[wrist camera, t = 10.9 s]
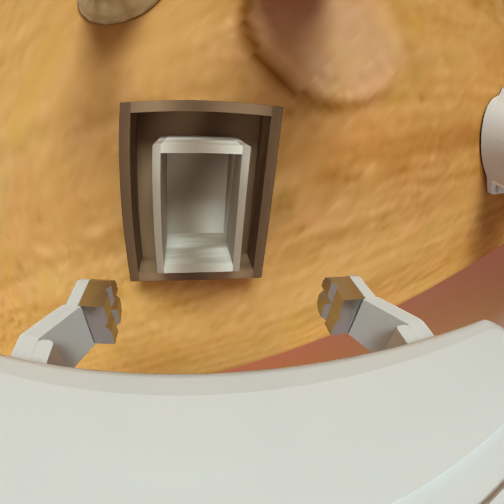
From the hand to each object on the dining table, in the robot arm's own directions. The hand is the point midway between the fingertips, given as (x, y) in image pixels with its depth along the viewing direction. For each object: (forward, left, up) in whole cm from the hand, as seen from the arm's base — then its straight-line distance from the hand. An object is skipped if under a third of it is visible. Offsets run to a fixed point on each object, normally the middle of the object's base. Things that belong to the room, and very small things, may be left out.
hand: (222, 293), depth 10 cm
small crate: (0, 0, -15) cm, 15 cm away
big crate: (+1, 0, -15) cm, 15 cm away
